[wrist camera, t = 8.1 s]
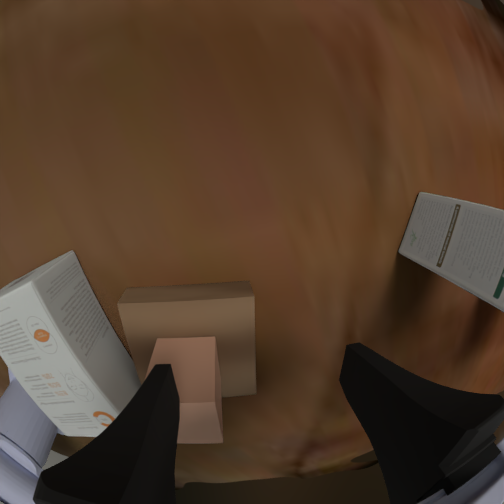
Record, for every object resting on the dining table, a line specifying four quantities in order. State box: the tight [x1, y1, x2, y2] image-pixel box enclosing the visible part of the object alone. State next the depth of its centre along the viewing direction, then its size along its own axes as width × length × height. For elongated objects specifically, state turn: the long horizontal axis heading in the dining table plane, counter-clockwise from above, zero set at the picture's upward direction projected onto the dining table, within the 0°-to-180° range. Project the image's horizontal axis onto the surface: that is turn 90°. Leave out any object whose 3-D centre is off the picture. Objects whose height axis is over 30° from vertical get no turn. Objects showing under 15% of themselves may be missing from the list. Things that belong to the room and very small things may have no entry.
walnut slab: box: [117, 281, 256, 397], centre depth 20 cm, size 9×9×3 cm
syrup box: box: [398, 192, 504, 312], centre depth 14 cm, size 6×6×14 cm
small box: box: [0, 250, 141, 437], centre depth 16 cm, size 8×6×13 cm
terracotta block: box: [144, 336, 223, 444], centre depth 15 cm, size 4×4×6 cm
